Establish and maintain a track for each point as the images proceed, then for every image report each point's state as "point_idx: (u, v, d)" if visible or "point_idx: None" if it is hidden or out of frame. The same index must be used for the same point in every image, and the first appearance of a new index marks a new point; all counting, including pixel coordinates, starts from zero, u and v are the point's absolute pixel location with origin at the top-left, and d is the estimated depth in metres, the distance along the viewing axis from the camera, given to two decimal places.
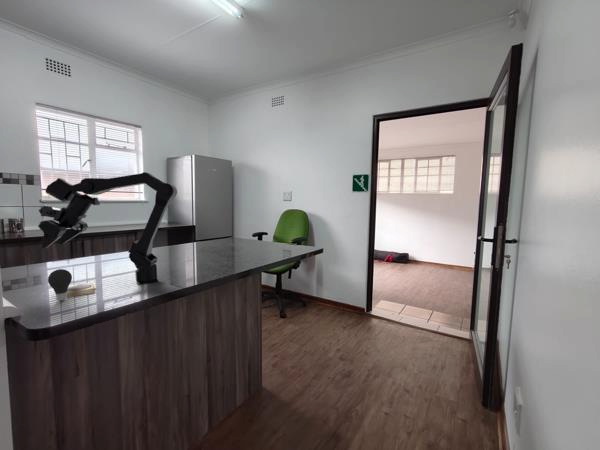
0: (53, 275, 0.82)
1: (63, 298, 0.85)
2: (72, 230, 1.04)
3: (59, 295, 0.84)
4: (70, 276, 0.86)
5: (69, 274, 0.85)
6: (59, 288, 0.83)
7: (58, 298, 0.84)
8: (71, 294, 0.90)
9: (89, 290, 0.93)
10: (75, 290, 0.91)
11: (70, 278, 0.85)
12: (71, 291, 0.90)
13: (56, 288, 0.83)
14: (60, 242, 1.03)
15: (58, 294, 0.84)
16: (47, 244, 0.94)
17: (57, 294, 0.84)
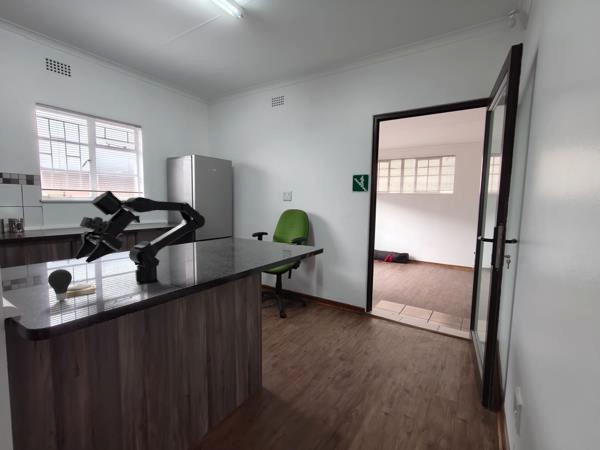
0: (53, 275, 0.82)
1: (63, 298, 0.85)
2: (92, 244, 0.96)
3: (59, 295, 0.84)
4: (70, 276, 0.86)
5: (69, 274, 0.85)
6: (59, 288, 0.83)
7: (58, 298, 0.84)
8: (71, 294, 0.90)
9: (89, 290, 0.93)
10: (75, 290, 0.91)
11: (70, 278, 0.85)
12: (71, 291, 0.90)
13: (56, 288, 0.83)
14: (77, 257, 0.92)
15: (58, 294, 0.84)
16: (95, 258, 0.88)
17: (57, 294, 0.84)
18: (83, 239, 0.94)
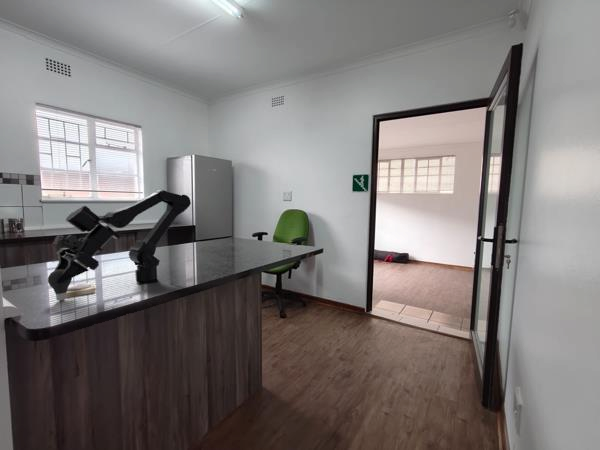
0: (53, 275, 0.82)
1: (63, 298, 0.85)
2: None
3: (59, 295, 0.84)
4: None
5: None
6: (59, 288, 0.83)
7: (58, 298, 0.84)
8: (71, 294, 0.90)
9: (89, 290, 0.93)
10: (75, 290, 0.91)
11: None
12: (71, 291, 0.90)
13: (56, 288, 0.83)
14: None
15: (58, 294, 0.84)
16: (66, 278, 0.83)
17: (57, 294, 0.84)
18: (59, 258, 0.88)
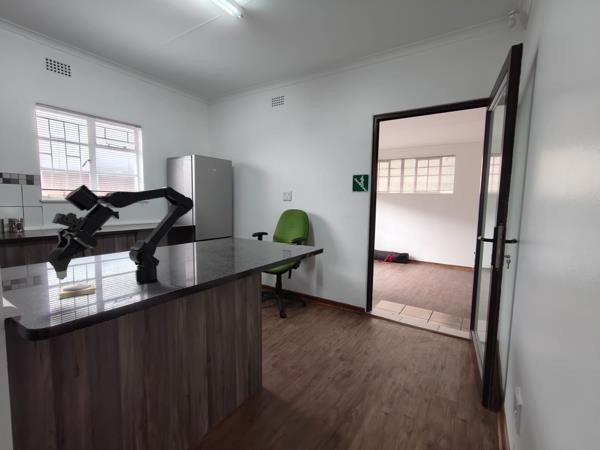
0: (53, 253, 0.83)
1: (63, 276, 0.85)
2: None
3: (59, 273, 0.84)
4: None
5: None
6: (59, 266, 0.84)
7: (58, 276, 0.84)
8: (71, 294, 0.90)
9: (89, 290, 0.93)
10: (75, 290, 0.91)
11: (70, 256, 0.85)
12: (71, 291, 0.90)
13: (56, 266, 0.83)
14: None
15: (58, 272, 0.84)
16: (66, 256, 0.83)
17: (57, 272, 0.84)
18: (59, 237, 0.88)
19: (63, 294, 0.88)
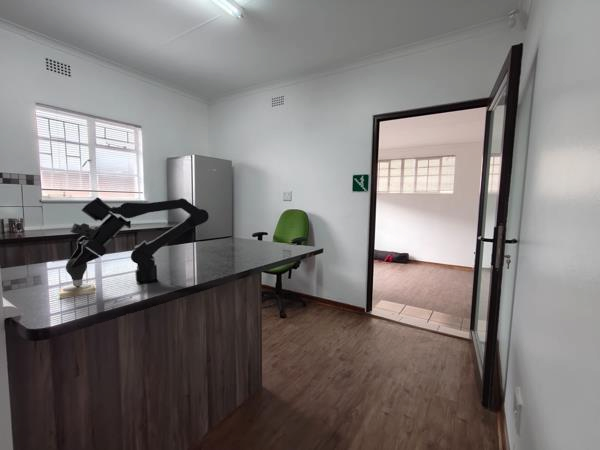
0: (69, 263, 0.91)
1: (78, 284, 0.93)
2: None
3: (75, 281, 0.93)
4: (84, 265, 0.94)
5: None
6: (74, 275, 0.92)
7: (74, 284, 0.93)
8: (71, 294, 0.90)
9: (89, 290, 0.93)
10: (75, 290, 0.91)
11: (84, 267, 0.93)
12: (71, 291, 0.90)
13: (72, 275, 0.92)
14: None
15: (74, 280, 0.93)
16: (80, 264, 0.90)
17: (73, 280, 0.93)
18: (77, 244, 0.98)
19: (63, 294, 0.88)
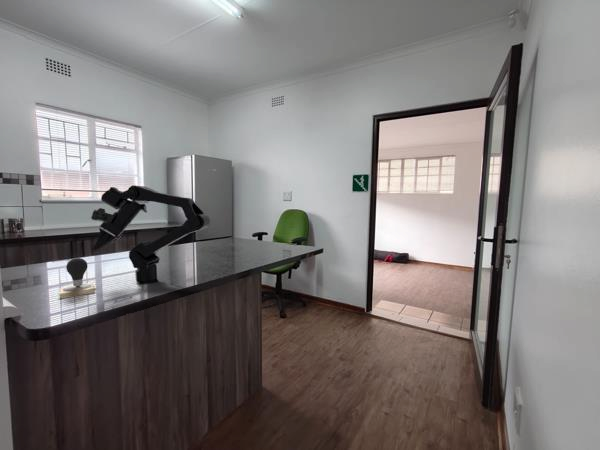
0: (70, 263, 0.91)
1: (78, 284, 0.93)
2: None
3: (75, 281, 0.93)
4: (85, 265, 0.94)
5: (84, 263, 0.94)
6: (75, 275, 0.92)
7: (74, 284, 0.93)
8: (71, 294, 0.90)
9: (89, 290, 0.93)
10: (75, 290, 0.91)
11: (85, 267, 0.93)
12: (71, 291, 0.90)
13: (72, 275, 0.92)
14: None
15: (74, 280, 0.93)
16: (100, 246, 0.94)
17: (73, 280, 0.93)
18: None
19: (63, 294, 0.88)
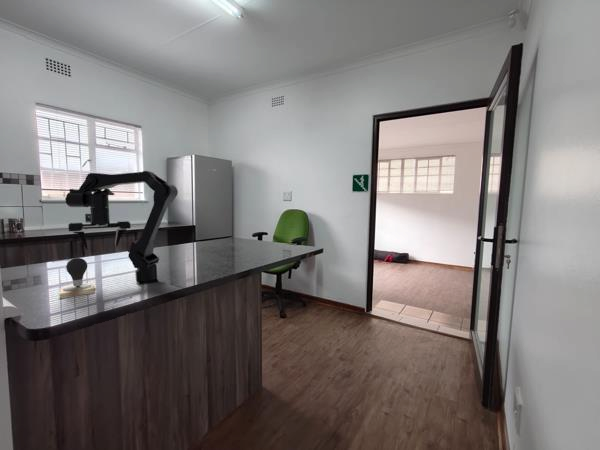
0: (70, 263, 0.91)
1: (78, 284, 0.93)
2: (117, 230, 1.07)
3: (75, 281, 0.93)
4: (85, 264, 0.94)
5: (84, 263, 0.94)
6: (75, 275, 0.92)
7: (74, 284, 0.93)
8: (71, 294, 0.90)
9: (89, 290, 0.93)
10: (75, 290, 0.91)
11: (84, 267, 0.93)
12: (71, 291, 0.90)
13: (72, 275, 0.92)
14: (115, 244, 1.08)
15: (74, 280, 0.93)
16: None
17: (73, 280, 0.93)
18: None
19: (63, 294, 0.88)
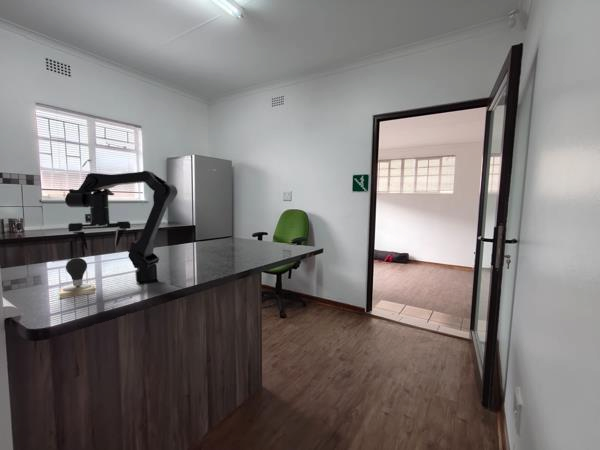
0: (69, 263, 0.91)
1: (78, 284, 0.93)
2: (117, 231, 1.07)
3: (75, 281, 0.93)
4: (84, 264, 0.94)
5: (84, 262, 0.94)
6: (74, 275, 0.92)
7: (74, 284, 0.93)
8: (71, 294, 0.90)
9: (89, 290, 0.93)
10: (75, 290, 0.91)
11: (84, 266, 0.93)
12: (71, 291, 0.90)
13: (72, 275, 0.92)
14: (115, 245, 1.08)
15: (74, 280, 0.93)
16: None
17: (73, 280, 0.93)
18: None
19: (63, 294, 0.88)
